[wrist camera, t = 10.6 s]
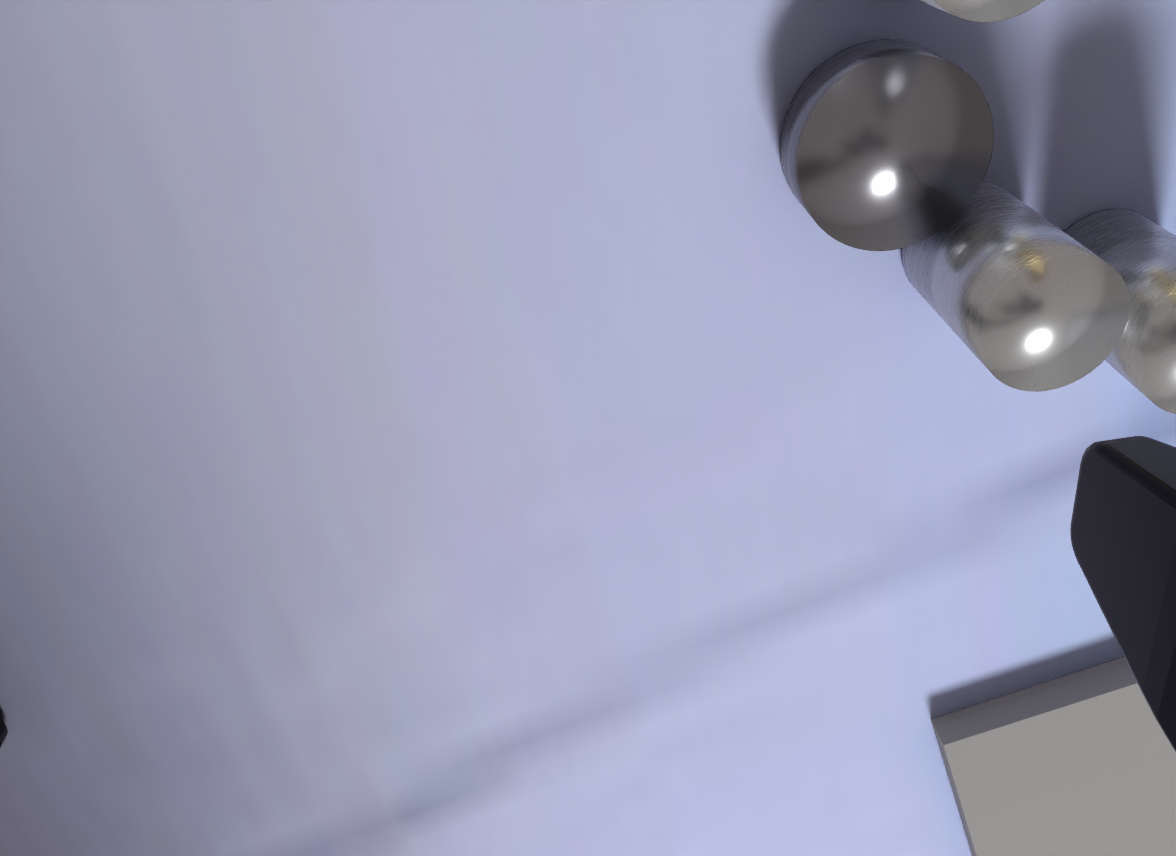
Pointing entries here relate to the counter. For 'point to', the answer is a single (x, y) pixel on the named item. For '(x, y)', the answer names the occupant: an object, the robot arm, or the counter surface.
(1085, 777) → the laptop
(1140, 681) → the robot arm
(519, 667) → the counter surface
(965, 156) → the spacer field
